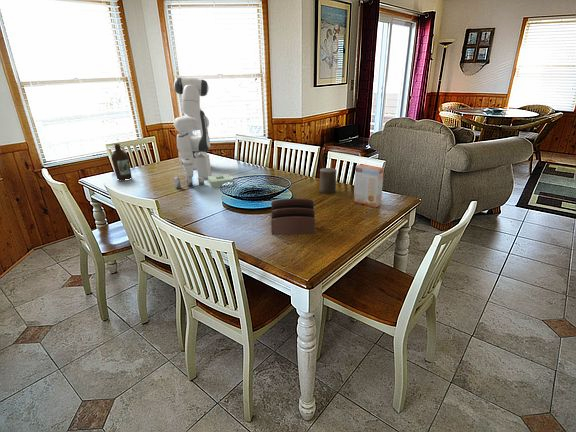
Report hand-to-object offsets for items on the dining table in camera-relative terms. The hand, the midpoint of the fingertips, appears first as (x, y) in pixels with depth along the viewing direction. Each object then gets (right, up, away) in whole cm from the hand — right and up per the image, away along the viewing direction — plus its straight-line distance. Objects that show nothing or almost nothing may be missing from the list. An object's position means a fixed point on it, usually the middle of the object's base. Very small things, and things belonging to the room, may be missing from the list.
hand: (189, 180), depth 220 cm
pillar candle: (+88, -9, -14) cm, 89 cm away
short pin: (+7, -3, +4) cm, 9 cm away
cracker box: (+107, -17, -34) cm, 114 cm away
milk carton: (+5, +4, +21) cm, 21 cm away
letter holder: (+66, -30, -62) cm, 96 cm away
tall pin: (0, -4, +2) cm, 4 cm away
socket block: (+19, -2, +6) cm, 20 cm away
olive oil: (-51, +2, +20) cm, 55 cm away
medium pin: (-7, -5, -1) cm, 9 cm away
